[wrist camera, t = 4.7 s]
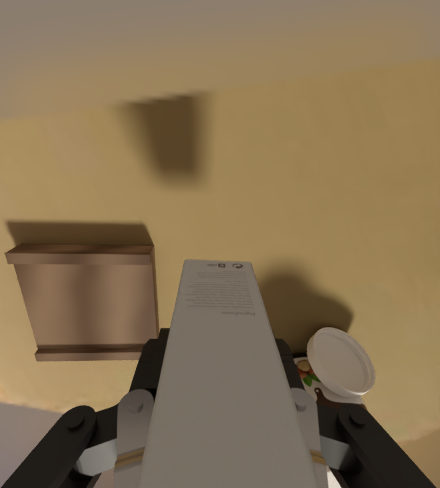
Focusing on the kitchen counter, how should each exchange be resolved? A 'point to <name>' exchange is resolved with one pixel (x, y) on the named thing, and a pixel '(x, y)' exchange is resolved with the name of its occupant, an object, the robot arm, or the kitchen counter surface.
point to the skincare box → (223, 392)
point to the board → (88, 299)
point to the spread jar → (335, 372)
